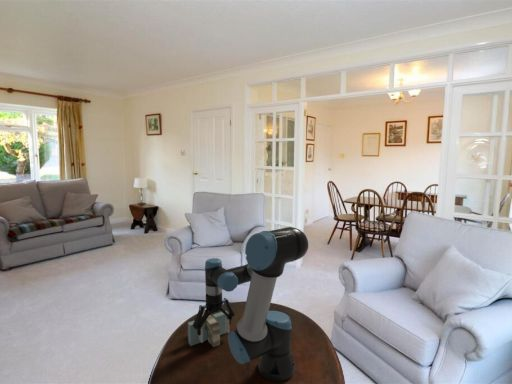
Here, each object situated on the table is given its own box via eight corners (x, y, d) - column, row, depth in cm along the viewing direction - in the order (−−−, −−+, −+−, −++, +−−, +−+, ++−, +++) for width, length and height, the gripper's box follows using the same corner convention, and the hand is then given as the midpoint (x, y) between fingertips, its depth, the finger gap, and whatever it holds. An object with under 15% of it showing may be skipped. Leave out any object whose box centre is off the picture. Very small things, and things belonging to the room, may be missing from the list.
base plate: (225, 329, 152) (225, 310, 151) (228, 332, 150) (228, 313, 149) (188, 342, 141) (187, 322, 140) (190, 346, 139) (190, 325, 138)
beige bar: (220, 344, 140) (219, 324, 139) (213, 347, 138) (213, 326, 137) (205, 328, 153) (205, 309, 152) (199, 330, 151) (198, 311, 150)
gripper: (233, 283, 148) (233, 324, 150) (184, 296, 134) (186, 341, 136) (241, 288, 142) (241, 331, 144) (191, 303, 128) (192, 349, 130)
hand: (214, 336), depth 140 cm, fingers open, 13 cm apart
